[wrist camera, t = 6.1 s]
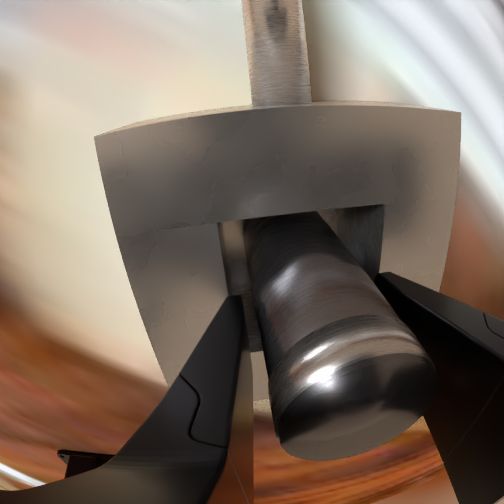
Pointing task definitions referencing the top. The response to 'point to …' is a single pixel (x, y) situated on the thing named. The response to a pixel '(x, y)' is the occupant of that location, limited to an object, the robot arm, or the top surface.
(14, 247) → the top surface
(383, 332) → the dark metal cylinder
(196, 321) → the grey holed paddle
